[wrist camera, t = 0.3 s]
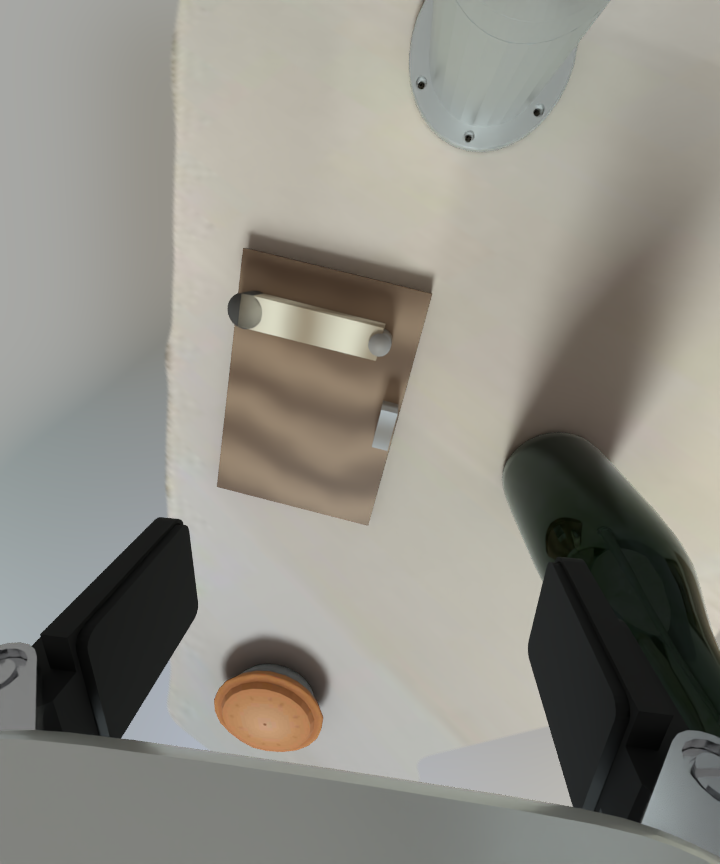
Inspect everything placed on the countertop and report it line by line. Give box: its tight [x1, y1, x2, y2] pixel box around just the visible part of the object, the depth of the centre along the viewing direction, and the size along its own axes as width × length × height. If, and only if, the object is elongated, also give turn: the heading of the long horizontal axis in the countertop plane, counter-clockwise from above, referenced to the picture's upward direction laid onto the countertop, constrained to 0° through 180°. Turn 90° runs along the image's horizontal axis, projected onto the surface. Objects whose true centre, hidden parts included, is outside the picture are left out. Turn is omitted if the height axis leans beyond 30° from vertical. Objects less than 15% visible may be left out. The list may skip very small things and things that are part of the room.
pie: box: [214, 664, 323, 752], centre depth 62 cm, size 15×16×5 cm
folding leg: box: [228, 291, 392, 361], centre depth 40 cm, size 15×3×3 cm, turn 77°
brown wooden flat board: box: [217, 248, 432, 526], centre depth 44 cm, size 26×18×4 cm
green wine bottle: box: [502, 432, 720, 738], centre depth 31 cm, size 10×10×33 cm
